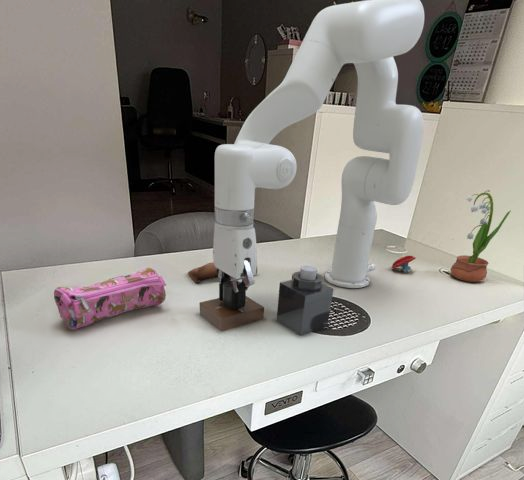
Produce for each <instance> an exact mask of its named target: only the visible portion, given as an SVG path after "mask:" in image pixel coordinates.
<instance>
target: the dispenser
mask: <svg viewBox="0 0 524 480" xmlns="http://www.w3.org/2000/svg"><path fill="white" fill-rule="evenodd" d="M299 277H300V270H299V271H295V272H293V273H292V274H291V279H290V280H285V281H281V282H279V288H278V298H277V308H276V309H277V310H276V320H275V321H276V322H277V323H279V324H281V325H282V326H284V327H286V328H287V329H289V330H290V331H292V332H293V333H295V334H296V335H298V336H299V337H301V336H304V335H307V334H311V333H313V332H316V331H319V330H322V329H325V328H328V326H329V325H328V324H329V319H330V314H331V308H332V302H333V297H334V290H335V289H334V287H331V286H329V285H327V284H326V283H324V279H325V277H323V275H322V274H320V273H318V272H317V275H316V279H315V280H305V279H301V278H299Z"/></svg>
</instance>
